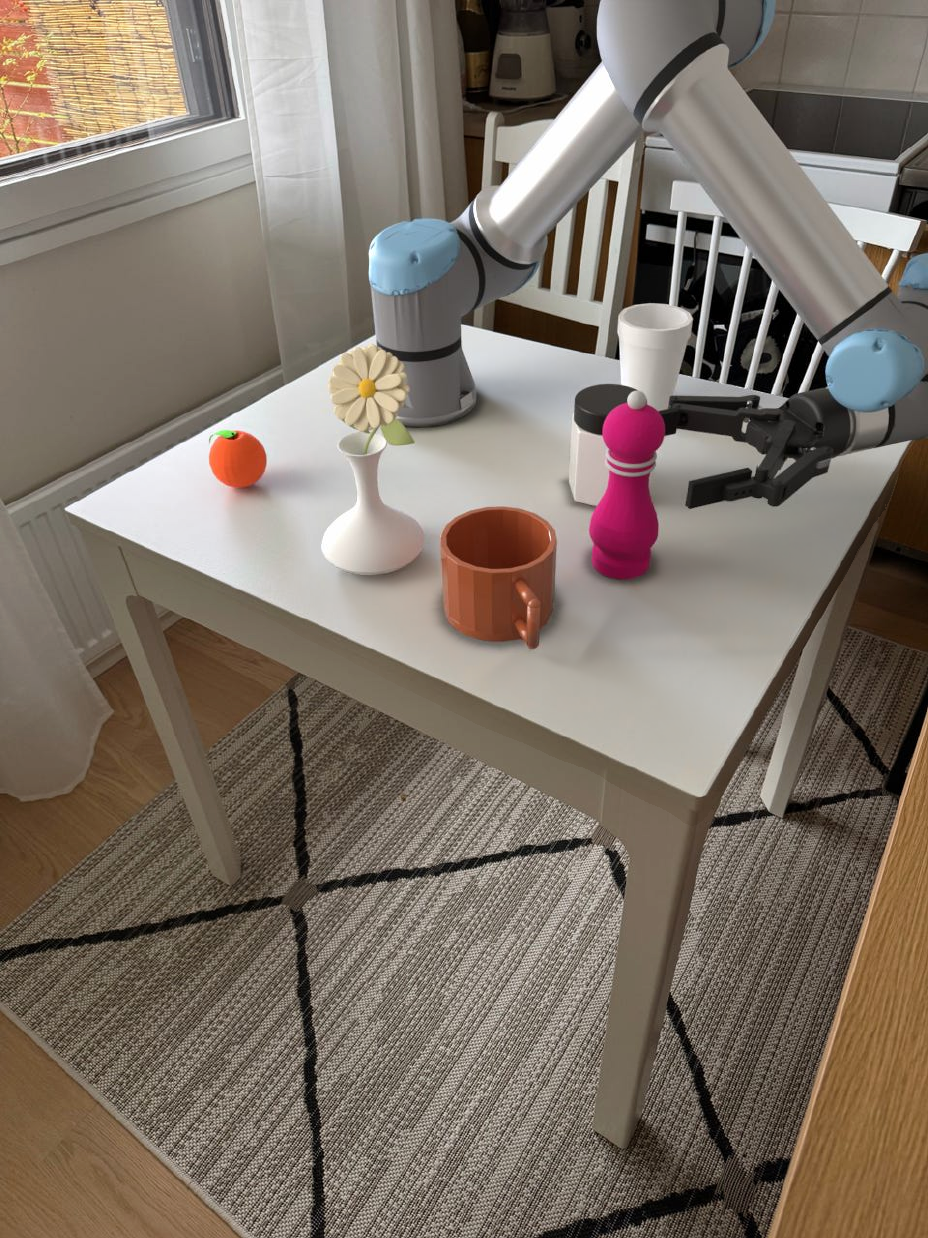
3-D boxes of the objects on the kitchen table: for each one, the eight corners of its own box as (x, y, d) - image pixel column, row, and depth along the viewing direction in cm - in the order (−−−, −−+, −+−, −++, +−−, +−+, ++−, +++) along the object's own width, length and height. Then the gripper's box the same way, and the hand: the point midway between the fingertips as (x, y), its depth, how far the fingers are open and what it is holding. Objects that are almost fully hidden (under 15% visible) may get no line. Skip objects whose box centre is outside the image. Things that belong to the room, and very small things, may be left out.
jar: (596, 517, 105) (604, 423, 97) (553, 487, 110) (557, 396, 103) (654, 493, 109) (665, 401, 101) (610, 465, 114) (617, 375, 106)
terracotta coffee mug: (429, 587, 96) (425, 520, 90) (527, 564, 98) (528, 497, 93) (479, 678, 85) (478, 607, 79) (588, 649, 88) (593, 578, 82)
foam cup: (624, 388, 131) (632, 299, 122) (687, 400, 127) (700, 308, 119) (602, 417, 124) (609, 324, 116) (668, 429, 121) (680, 335, 112)
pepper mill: (640, 590, 94) (661, 415, 82) (576, 571, 97) (587, 399, 84) (663, 554, 99) (687, 383, 86) (602, 537, 102) (616, 369, 89)
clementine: (196, 487, 113) (184, 436, 108) (234, 462, 117) (223, 412, 113) (246, 504, 110) (234, 451, 105) (282, 477, 114) (273, 426, 110)
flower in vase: (302, 557, 101) (264, 340, 85) (377, 514, 107) (355, 304, 91) (382, 605, 94) (358, 378, 78) (457, 556, 100) (449, 337, 84)
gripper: (901, 511, 90) (715, 559, 84) (755, 405, 108) (595, 439, 103) (924, 444, 85) (728, 490, 80) (767, 345, 103) (599, 377, 98)
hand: (653, 462), depth 91 cm, fingers open, 13 cm apart
